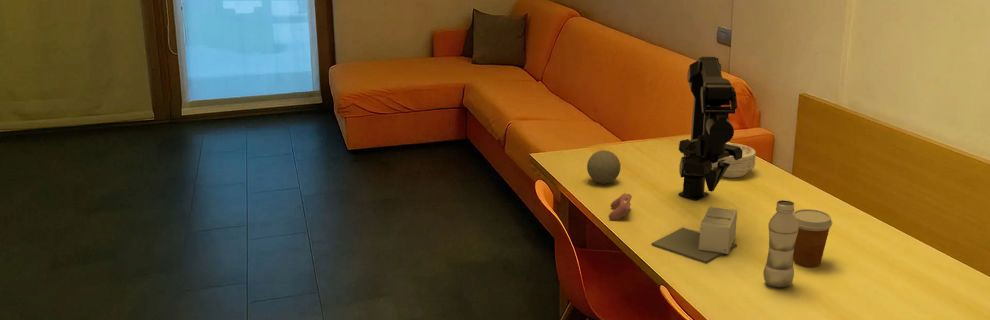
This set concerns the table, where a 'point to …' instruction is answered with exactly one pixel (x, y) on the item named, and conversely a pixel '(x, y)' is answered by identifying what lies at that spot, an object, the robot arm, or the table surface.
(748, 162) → the paper bowls
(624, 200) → the video game controller
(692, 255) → the mat
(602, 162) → the decorative ball
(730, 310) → the table surface
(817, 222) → the disposable coffee cup
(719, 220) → the supplement box
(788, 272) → the plastic bottle
